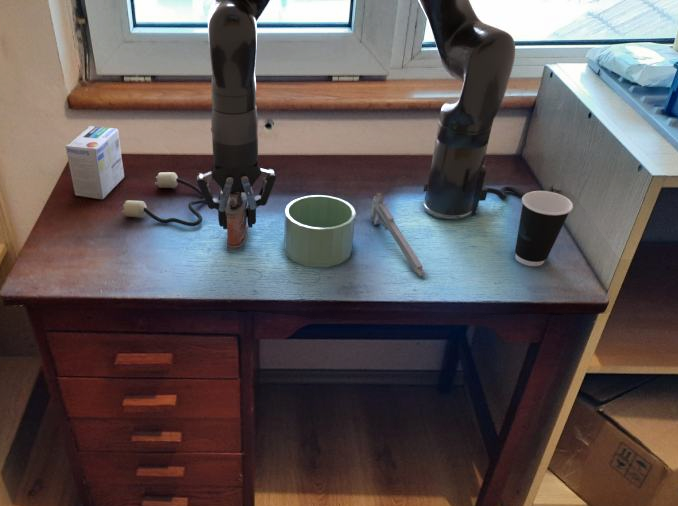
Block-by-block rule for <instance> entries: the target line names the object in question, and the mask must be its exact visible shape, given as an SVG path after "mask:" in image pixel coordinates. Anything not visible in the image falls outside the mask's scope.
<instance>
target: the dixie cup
mask: <svg viewBox="0 0 678 506" xmlns="http://www.w3.org/2000/svg"><path fill="white" fill-rule="evenodd" d="M521 203H522V206H521V212H520V218H519V223H518V224H519V225H518V230H517V237H516V244H515V249H514V253H515V259H516V261H517V262H519V263H520V264H522V265H525V266H527V267H539V266H542V265H543V264H544V263H545V261H546V260H547V259H548V257H549V255H550V254H551V251H552V250H553V247H554V245H555V243H556V241H557V239H558V237H559V235H560V232H561V230H562V228H563V226H564V225H565V222H566V220H567V218H568V216H569V214H570V212H572V210H573V209H574V204H573V201H571V199H569V198H568V197H566V196H564V195H563V194H560V193H557V192H554V191H553V192H548V190H533V191H529V192H526V194H525V195H524V196H523V197H521Z"/></svg>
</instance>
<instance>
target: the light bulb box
mask: <svg viewBox="0 0 678 506" xmlns="http://www.w3.org/2000/svg"><path fill="white" fill-rule="evenodd" d="M119 135H120V134H119V129H118V128H115V127H114V128H113V127H102V126H94V125H89V126H87V128H85V129H84V130H83V131H82V132H81V133H80V134H79V135H77V136H76V137H75V138H74V139H73V140H72V141H70V142H69V143H68V144H66V145H65V151H66V156H67V161H68V167H69V172H70V176H71V180H72V181H71V182H72V185H73V191H74V196H76V197H77V196H78V197H82V198H89V199H90V198H91V199H95V200H96V199H97V200H104V199H105V198H106V197H107V196H108V195H109V194H110V193H111V192H112V190H114V188H116V187H117V186H118V184H119V183H120V182H122V180H123V179H124V178H125V172H124V163H123V158H122V151H121V150H122V149H121V143H120V137H119Z"/></svg>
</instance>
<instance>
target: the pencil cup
mask: <svg viewBox="0 0 678 506" xmlns="http://www.w3.org/2000/svg"><path fill="white" fill-rule="evenodd" d="M356 215H357V211H356V210H355V208H354V206H353V205H352V204H351V203H350V202H348V201H347V200H344V199H342V198H340V197H336V196H331V195H323V194H322V195H321V194H314V195H306V196H302V197H297V198H296V199H294V200H291V201H290V202H289V203H288V204H287V205H286V206H285V210H284V232H283V250H284V253H285V254H286V256H287V257H288V258H289V259H290V260H291V261H293V262H295V263H297V264H299V265H302V266H306V267H310V268H329V267H330V268H331V267H335V266H338V265H340V264H343V263H344V262H346V261H347V260H348V259H349V258H350V257H351V255H352V251H353V242H354V234H355V233H354V232H355V225H356Z"/></svg>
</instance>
